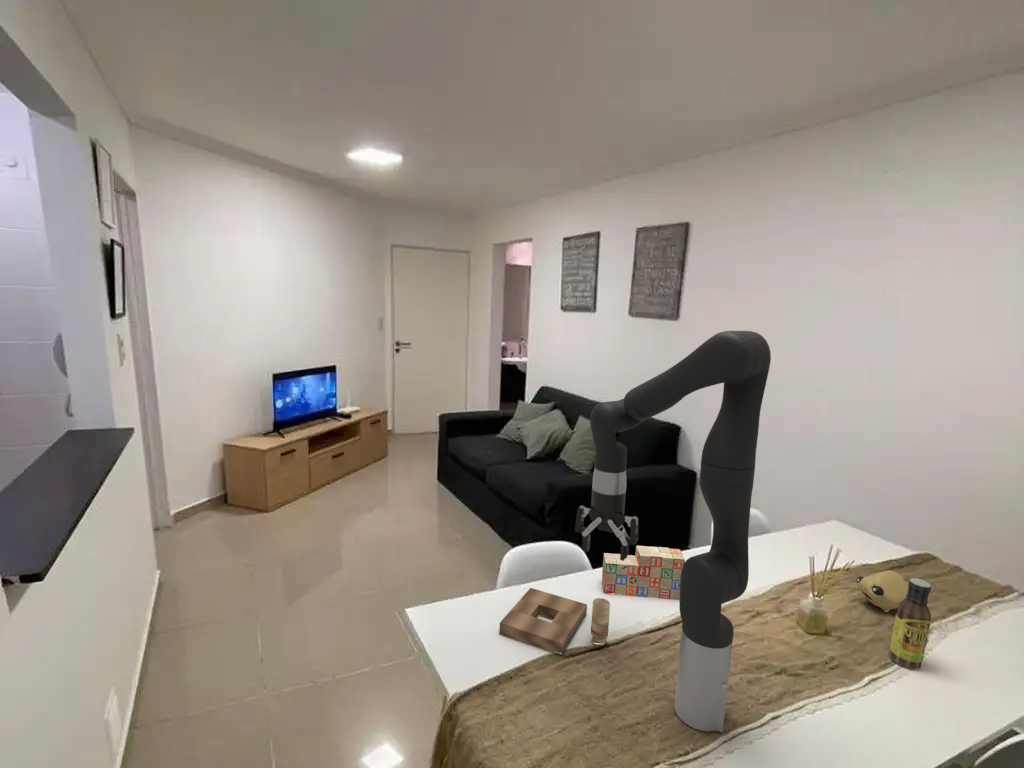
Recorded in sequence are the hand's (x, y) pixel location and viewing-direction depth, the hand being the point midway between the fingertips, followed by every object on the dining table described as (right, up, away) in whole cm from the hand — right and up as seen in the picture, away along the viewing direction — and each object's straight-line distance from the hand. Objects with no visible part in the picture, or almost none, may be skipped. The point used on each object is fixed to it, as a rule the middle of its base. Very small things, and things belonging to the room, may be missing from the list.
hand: (604, 554), depth 121 cm
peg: (-1, -22, +3) cm, 22 cm away
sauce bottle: (+70, -25, 0) cm, 74 cm away
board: (-13, -20, +9) cm, 26 cm away
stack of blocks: (+15, -19, +26) cm, 36 cm away
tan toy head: (+80, -22, +23) cm, 86 cm away
